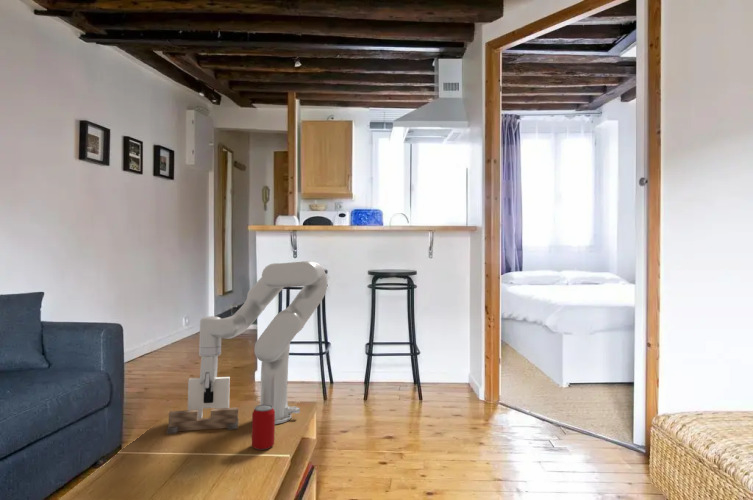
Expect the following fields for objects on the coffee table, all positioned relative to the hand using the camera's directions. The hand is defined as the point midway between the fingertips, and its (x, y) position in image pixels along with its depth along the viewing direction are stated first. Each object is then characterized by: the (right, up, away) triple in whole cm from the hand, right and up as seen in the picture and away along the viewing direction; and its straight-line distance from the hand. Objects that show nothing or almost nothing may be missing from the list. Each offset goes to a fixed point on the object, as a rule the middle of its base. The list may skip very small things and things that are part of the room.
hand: (208, 401), depth 161 cm
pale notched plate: (0, -6, 0) cm, 6 cm away
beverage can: (+26, -6, -25) cm, 37 cm away
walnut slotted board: (+2, -5, -11) cm, 12 cm away
